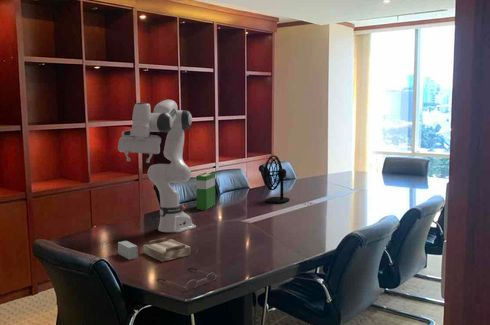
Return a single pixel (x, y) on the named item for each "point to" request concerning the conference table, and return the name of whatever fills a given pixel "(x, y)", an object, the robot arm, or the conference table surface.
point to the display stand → (166, 249)
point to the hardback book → (205, 190)
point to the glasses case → (127, 250)
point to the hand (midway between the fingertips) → (138, 161)
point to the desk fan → (281, 175)
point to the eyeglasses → (191, 280)
